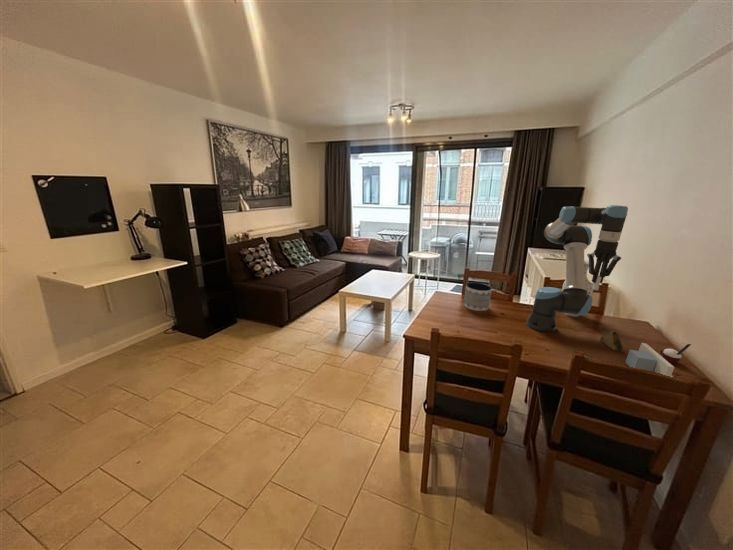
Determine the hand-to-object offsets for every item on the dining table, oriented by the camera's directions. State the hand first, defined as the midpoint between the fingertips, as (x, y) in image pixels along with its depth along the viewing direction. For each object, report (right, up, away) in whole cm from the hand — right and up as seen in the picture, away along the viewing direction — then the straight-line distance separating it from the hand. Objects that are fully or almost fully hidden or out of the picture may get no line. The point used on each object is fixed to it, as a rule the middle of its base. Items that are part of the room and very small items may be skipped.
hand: (594, 289), depth 143 cm
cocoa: (+37, -35, +1) cm, 51 cm away
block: (+16, -36, -5) cm, 40 cm away
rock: (+19, -30, +14) cm, 38 cm away
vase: (+23, -19, +51) cm, 59 cm away
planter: (-36, -15, +58) cm, 70 cm away
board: (+23, -37, -6) cm, 44 cm away
